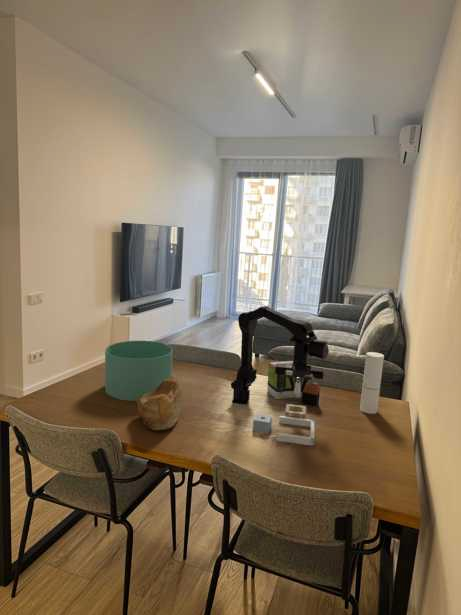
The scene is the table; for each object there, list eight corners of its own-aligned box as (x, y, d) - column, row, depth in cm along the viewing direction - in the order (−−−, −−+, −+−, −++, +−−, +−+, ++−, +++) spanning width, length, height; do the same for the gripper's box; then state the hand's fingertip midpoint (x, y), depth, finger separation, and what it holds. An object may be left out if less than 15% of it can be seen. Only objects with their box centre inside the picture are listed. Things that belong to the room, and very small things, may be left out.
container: (184, 387, 197) (186, 348, 194) (139, 407, 173) (140, 363, 169) (138, 373, 213) (139, 337, 210) (90, 389, 188) (90, 349, 185)
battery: (315, 407, 182) (317, 385, 181) (300, 403, 186) (302, 382, 184) (318, 404, 186) (320, 382, 184) (304, 400, 189) (306, 379, 188)
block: (252, 431, 158) (253, 419, 157) (255, 424, 163) (256, 413, 163) (268, 433, 156) (269, 422, 155) (271, 427, 162) (272, 415, 161)
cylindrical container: (377, 409, 185) (384, 354, 180) (376, 415, 178) (383, 358, 174) (361, 405, 188) (367, 351, 183) (358, 411, 181) (365, 355, 177)
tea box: (295, 389, 203) (297, 359, 200) (305, 397, 193) (308, 366, 191) (266, 391, 198) (268, 361, 195) (275, 399, 188) (277, 368, 186)
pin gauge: (292, 397, 167) (294, 378, 166) (293, 394, 170) (294, 375, 169) (300, 398, 167) (302, 379, 166) (300, 395, 170) (302, 376, 169)
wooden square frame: (284, 421, 167) (285, 411, 167) (285, 413, 175) (286, 403, 174) (305, 423, 166) (305, 414, 165) (305, 415, 174) (305, 406, 173)
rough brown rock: (149, 406, 176) (147, 372, 173) (188, 408, 172) (186, 374, 169) (125, 433, 153) (121, 394, 150) (168, 436, 150) (165, 397, 147)
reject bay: (276, 440, 151) (277, 434, 151) (279, 421, 167) (279, 415, 166) (313, 445, 149) (314, 439, 148) (313, 426, 164) (313, 420, 164)
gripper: (275, 357, 159) (272, 396, 162) (325, 362, 156) (321, 402, 159) (277, 349, 170) (274, 386, 173) (324, 354, 167) (320, 391, 170)
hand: (297, 391), depth 168 cm, fingers closed on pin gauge, 3 cm apart
